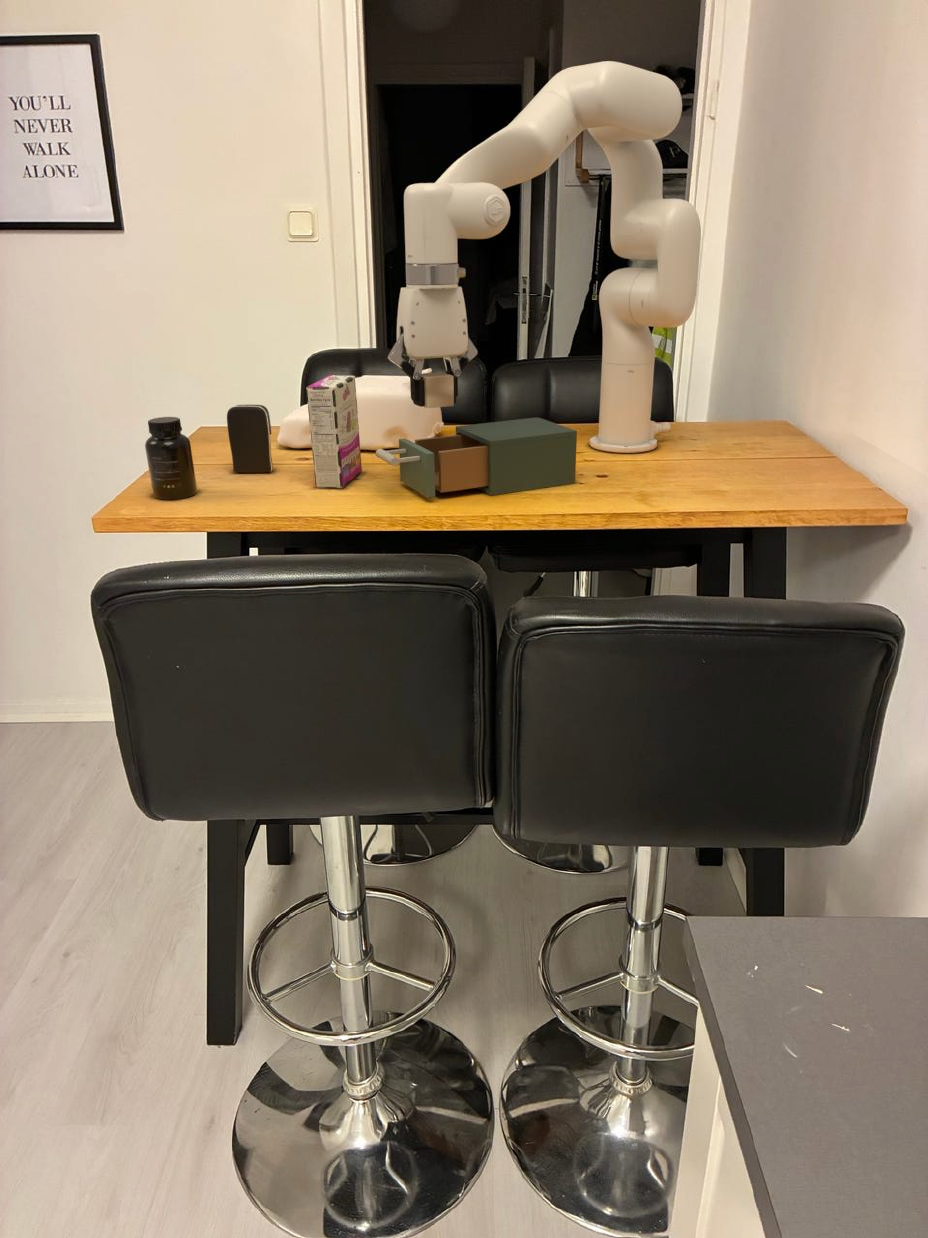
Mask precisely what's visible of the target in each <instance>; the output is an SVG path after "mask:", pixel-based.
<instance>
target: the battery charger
mask: <svg viewBox="0 0 928 1238" xmlns="http://www.w3.org/2000/svg"><path fill="white" fill-rule="evenodd" d="M270 417H271V416H270V412H269V410H268V408H267V407H266V406H265V405H263V404H236V405H234V406H231V407H230V408H229V409H228V410H227V412H226V425H227V433H228V440H229V447H230V452H231V459H232V471H233V473H242V474H243V473H245V474H247V473H248V474H249V473H250V474H254V473H255V474H257V473H258V474H259V473H260V474H261V473H271V472H272V471H273V469H274V467H273V466H274V465H273V459H272V458H273V457H272V447H271V445H272V443H271V435H272V424H271V418H270Z"/></svg>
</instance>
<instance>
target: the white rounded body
mask: <svg viewBox="0 0 928 1238" xmlns="http://www.w3.org/2000/svg"><path fill="white" fill-rule="evenodd" d="M432 371H433V369H432V368H431V367H430V368H426V369H422V373H433V372H432ZM355 386H356V400H357V412H358V426H359V440H360V451H361V450H364V451H367V450H368V451H377V450H378V449H383V450H386V449H399V439H407V440H409V441H411V442H413V443H415V440H417V439H426V438H434V437H436V435H438V434H439V433H441V432H442V430H443V429H444V426H445V424H444V421H443V415H442V410H441V409H442V408H441V407H436V408H425V407H420V406H417V405H415V404H414V403H413V400H412V399H411V390H410V377H408V376H407V375H371V374H370V375H369V374H367V375H365V374H364V375H361V376H357V377H355ZM276 441H277V444H278V445H280V446H282V447H287V448H288V447H289V448H292V449H312V441H311V431H310V422H309V412H308V403H306V404H303V405H300V406H299V407H297V408H295V409H294V410H293V411H292V412H290V414H288V415H286V416H284V417H283V418H282V420H281V422H280V427H279V433H278V434H277V437H276Z"/></svg>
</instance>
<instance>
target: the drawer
mask: <svg viewBox="0 0 928 1238" xmlns="http://www.w3.org/2000/svg"><path fill="white" fill-rule="evenodd" d="M488 446H489V445H486V444H484V443H482V442H480V441H477V440H475V439H473V438H470V437H468V436H466V435H463V434H460V435H456V434H453V435H444V436H434V438H426V439H417V440H415V443H413V442H411V441H409V440H407V439H399V448H396V449H390V450H385V449H378V450H375V456H376V458H379V459H380V460H382V461H384V462H385V463H387V464H389V465H391V466H392V467H397V466H399V475H400V476H399V479H400V482H401V483H403V484H405V485H407V486H409V487H410V488H412V489H413V490H415V491H416V492H418V493H420V494H421V495H423V496H425V497H426V498H435V497H436V491H438V492H440V493H441V494H442V493H449V492H457V491H464V490H469V489H470V490H471V489H477V488H478V487H485V486H488ZM396 455H398V456H399V457H397V456H396Z"/></svg>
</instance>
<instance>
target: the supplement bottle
mask: <svg viewBox="0 0 928 1238" xmlns="http://www.w3.org/2000/svg"><path fill="white" fill-rule="evenodd" d="M147 425H148V433H149V434H150V435H151V436H150V437H148V438H147V439H146V440H145V443H144V448H145V455H146V460H147V467H148V472H149V479H150V484H151V489H152V494H153V496H154V497H155V498H156V499H158V500H166V501H174V500H182V499H187V498H190V497H192V496H194V495H195V494H196V493H197V491H198V486H197V478H196V472H195V468H194V467H195V466H194V458H193V452H192V446H191V440H190V439H189V437H187V436H186V435H185V434H183V433H181V432H182V431H183V426H182V424H181V418H180V417H178V416H161V417H155V418H150V419H149V420H148V421H147Z"/></svg>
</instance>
